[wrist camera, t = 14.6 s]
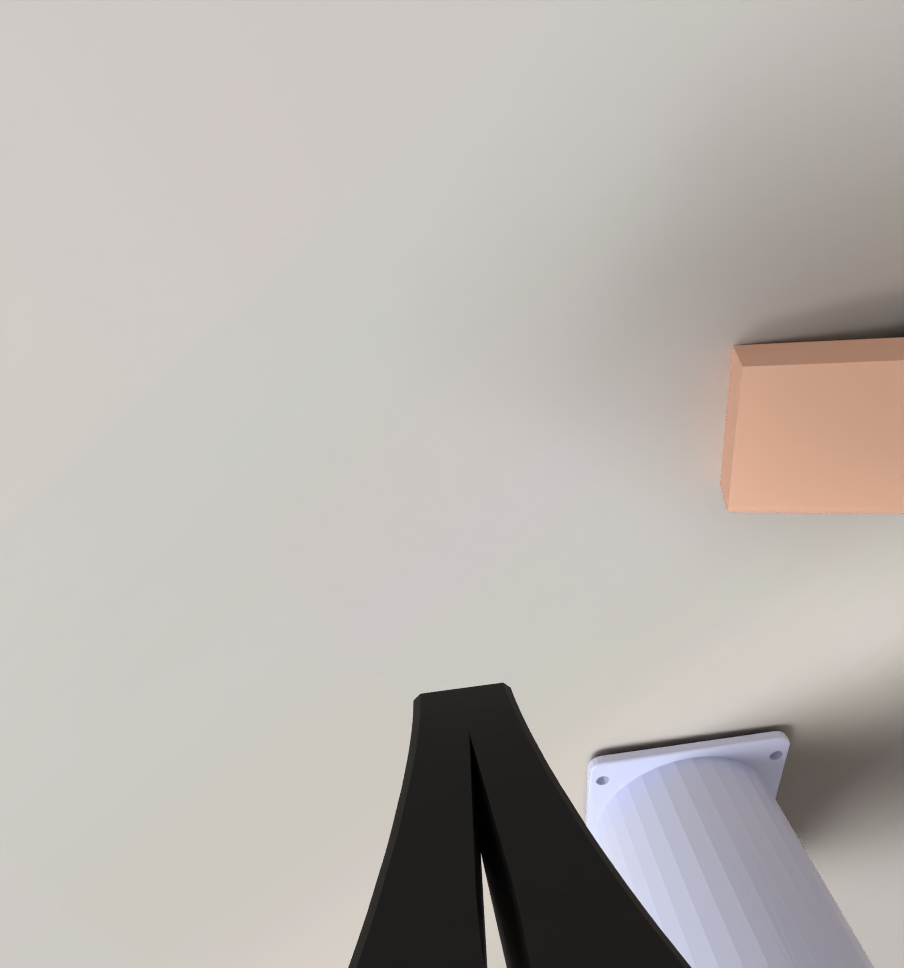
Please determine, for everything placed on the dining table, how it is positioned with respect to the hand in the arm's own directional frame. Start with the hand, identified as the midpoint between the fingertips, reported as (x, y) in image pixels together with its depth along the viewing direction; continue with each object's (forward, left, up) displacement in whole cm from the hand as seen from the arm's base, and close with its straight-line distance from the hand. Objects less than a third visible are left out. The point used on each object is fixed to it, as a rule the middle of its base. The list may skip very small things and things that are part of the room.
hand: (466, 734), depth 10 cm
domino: (0, -9, -9) cm, 13 cm away
